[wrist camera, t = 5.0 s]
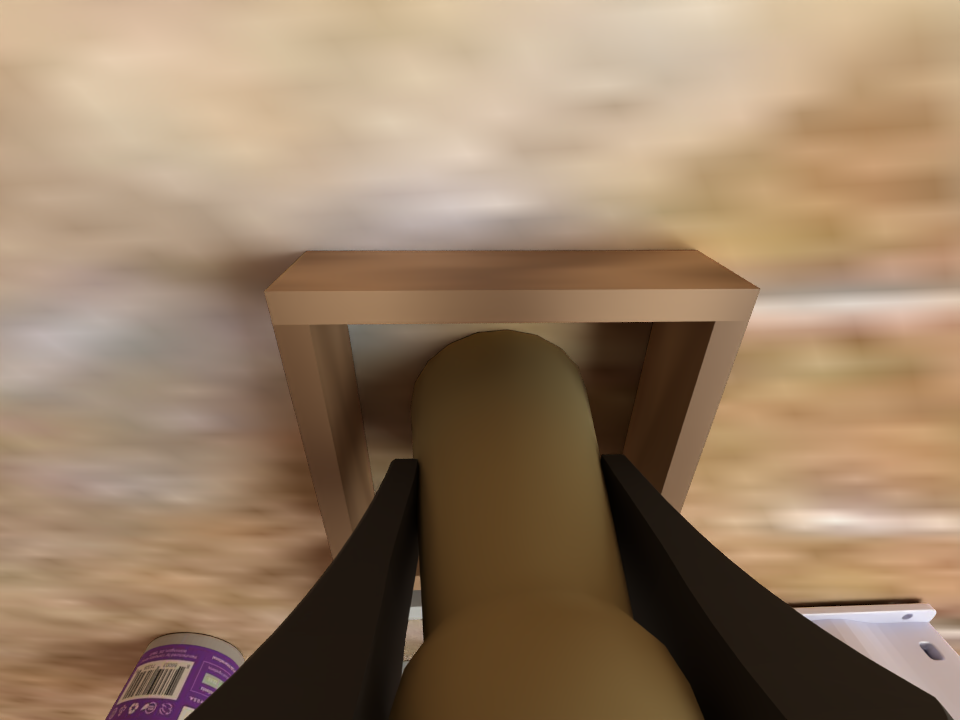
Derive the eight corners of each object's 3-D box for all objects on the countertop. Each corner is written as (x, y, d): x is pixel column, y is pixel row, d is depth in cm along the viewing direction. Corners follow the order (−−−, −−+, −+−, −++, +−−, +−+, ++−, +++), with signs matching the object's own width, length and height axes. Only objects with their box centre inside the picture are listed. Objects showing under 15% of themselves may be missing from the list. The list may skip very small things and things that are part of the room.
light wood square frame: (697, 250, 12) (760, 288, 10) (627, 513, 18) (655, 582, 15) (306, 250, 12) (263, 291, 9) (358, 520, 18) (341, 592, 15)
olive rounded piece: (384, 355, 14) (218, 916, 4) (574, 309, 13) (867, 835, 4) (439, 486, 17) (414, 984, 7) (595, 453, 16) (787, 944, 7)
